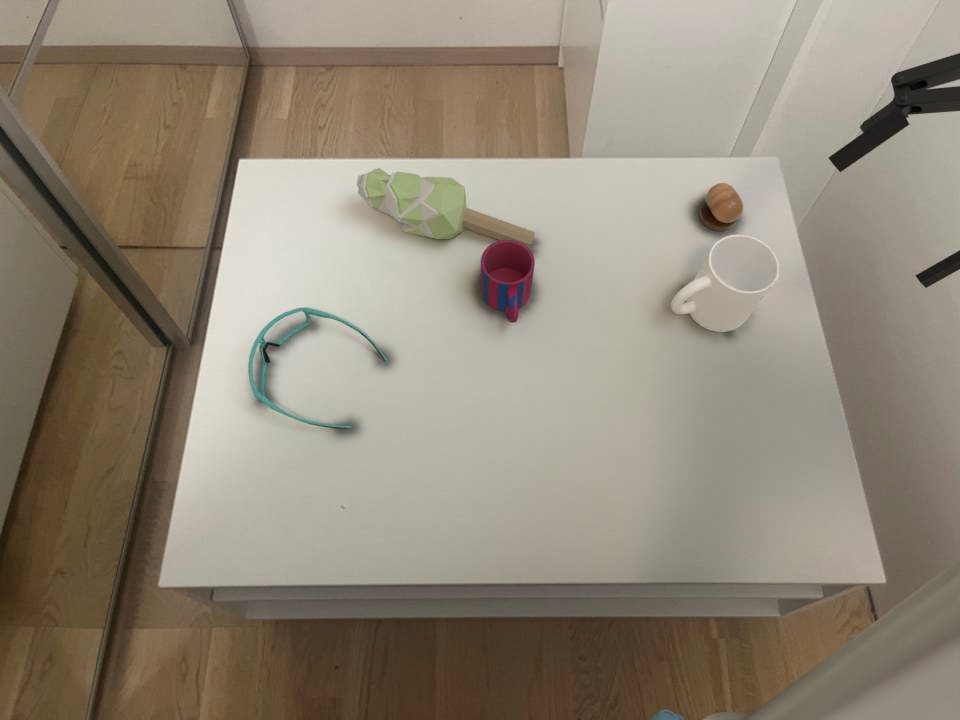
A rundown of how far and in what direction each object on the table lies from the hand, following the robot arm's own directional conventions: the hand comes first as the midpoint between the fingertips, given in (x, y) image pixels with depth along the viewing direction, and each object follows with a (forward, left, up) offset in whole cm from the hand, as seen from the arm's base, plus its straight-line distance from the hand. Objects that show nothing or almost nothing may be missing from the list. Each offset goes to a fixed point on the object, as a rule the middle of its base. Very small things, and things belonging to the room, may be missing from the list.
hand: (874, 221), depth 60 cm
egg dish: (+21, -5, -28) cm, 35 cm away
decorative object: (+32, +31, -28) cm, 53 cm away
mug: (+8, +4, -28) cm, 29 cm away
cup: (+18, +28, -28) cm, 43 cm away
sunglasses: (+16, +54, -28) cm, 62 cm away
